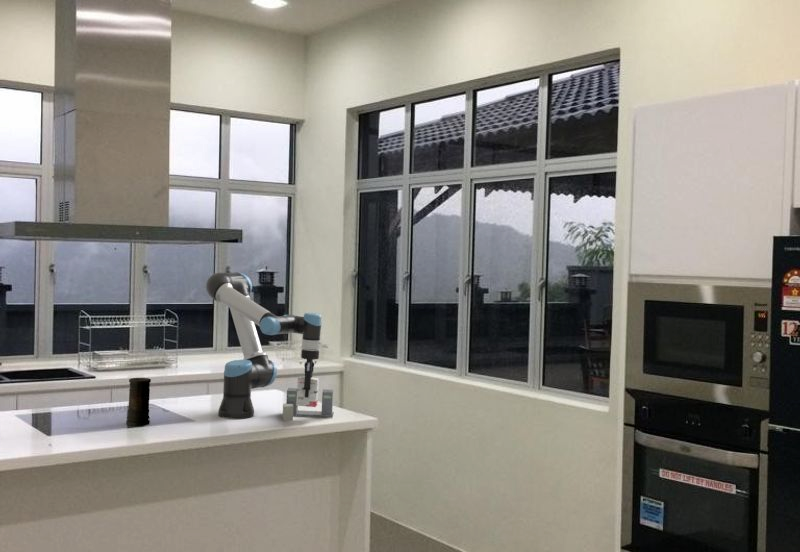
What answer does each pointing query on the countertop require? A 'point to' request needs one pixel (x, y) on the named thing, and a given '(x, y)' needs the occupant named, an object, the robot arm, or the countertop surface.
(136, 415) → the container
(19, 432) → the countertop surface
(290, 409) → the block
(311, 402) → the ink box
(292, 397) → the grey holder fixture
